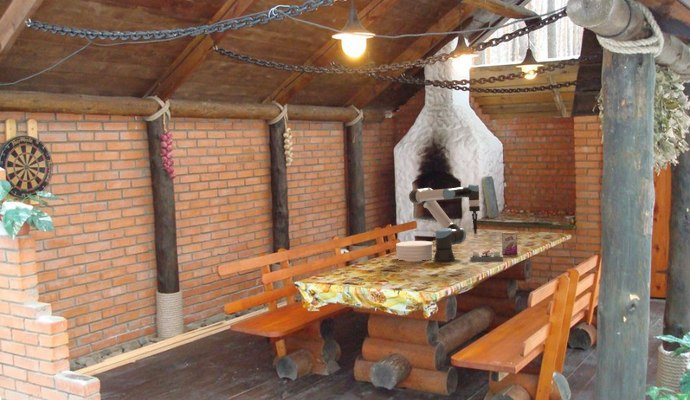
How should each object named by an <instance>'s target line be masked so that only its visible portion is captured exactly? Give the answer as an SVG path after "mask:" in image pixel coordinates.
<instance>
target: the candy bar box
mask: <svg viewBox="0 0 690 400" xmlns="http://www.w3.org/2000/svg"><path fill="white" fill-rule="evenodd" d="M501 247H502V248H501V249H502V251H501V253H502V254H501V255H517V254H518V232H517V231H502V233H501Z"/></svg>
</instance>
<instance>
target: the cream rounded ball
mask: <svg viewBox="0 0 690 400" xmlns="http://www.w3.org/2000/svg"><path fill="white" fill-rule="evenodd" d="M472 252H473V253H472V254H473V257H479V255H480V254H479V253H480V252H479V250H474V251H472Z"/></svg>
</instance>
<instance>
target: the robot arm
mask: <svg viewBox="0 0 690 400" xmlns="http://www.w3.org/2000/svg"><path fill="white" fill-rule="evenodd" d="M408 198H409V199H408V200H409V201H410V202H411V203H412V204H414V205H419V204H421V205H422V207H423V208H424V209H425V208H426V209H427V210H428V211H429V212H430V214H431V215H432V217H433V218H434V219H435V220H436V221H437V223H438V224H439V225H440V226H441V228H438V229H436V231H435V236H434V237H435V253H434V255H433V257H434V258H433V261H434V262H437V263H450V262H455V261H456V257H455V254H454V251H453V246H454V245H459V244H462V243H464V242H465V240H466V239H467V233H466V230H465V228H463V227H460V226H458V224H457V223H455V222H453V221H452V220H451V219H450V218H449V216H448V215H447V214H446V212H445V211H444V210H443V208H442V207H441V206H440V204H439V203H438V202H437V201H439V200H454V199H462V198H468V211H469V212H472V213H471V218H472V222H473V223H472V225H473V227H472V230H473V239H478V229H479V227H478V223H477V222H478V213H477V212H480V211H481V209H480V208H481V206H480V204H481V200H480V187H479V184H477V183H476V184H475V183H474V184H473V183H472V184H468V186H465V187H464V186H457V187H454V188H453V187H451V188H441V189H432V188H431V187H422V188H415V189H412V190H411V191H410V192H409V193H408Z"/></svg>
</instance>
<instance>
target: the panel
mask: <svg viewBox="0 0 690 400" xmlns="http://www.w3.org/2000/svg"><path fill="white" fill-rule="evenodd" d="M503 255H504V254H500V256H495V255H494V254H489V253H487V254H484V255H483V254H479V257H473V255H470V257H469V258H470V262H503V261H504V256H503Z"/></svg>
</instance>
